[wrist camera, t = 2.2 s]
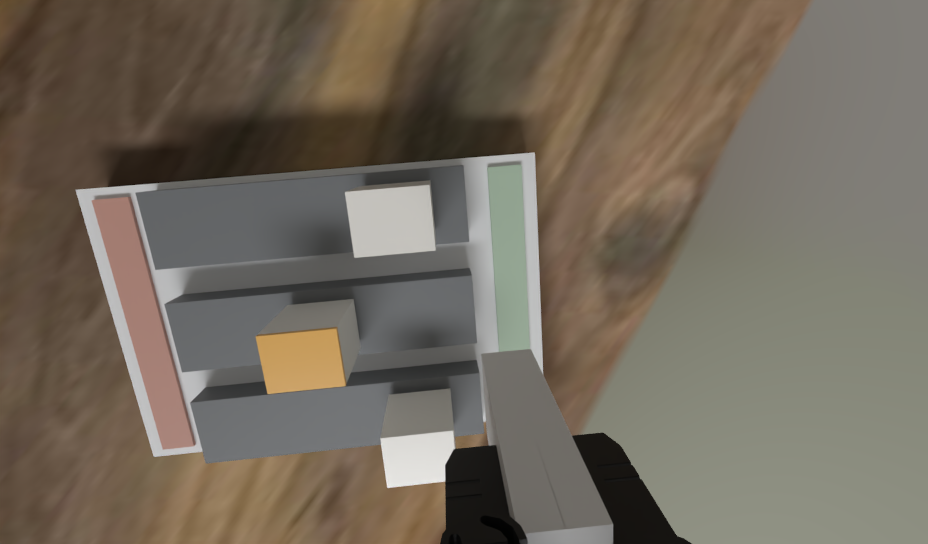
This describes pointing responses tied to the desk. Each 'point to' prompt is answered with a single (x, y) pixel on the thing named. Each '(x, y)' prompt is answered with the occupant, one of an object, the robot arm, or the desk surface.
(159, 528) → the desk surface
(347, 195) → the block
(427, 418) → the block
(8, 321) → the desk surface
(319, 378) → the block
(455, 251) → the breaker panel
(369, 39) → the desk surface
